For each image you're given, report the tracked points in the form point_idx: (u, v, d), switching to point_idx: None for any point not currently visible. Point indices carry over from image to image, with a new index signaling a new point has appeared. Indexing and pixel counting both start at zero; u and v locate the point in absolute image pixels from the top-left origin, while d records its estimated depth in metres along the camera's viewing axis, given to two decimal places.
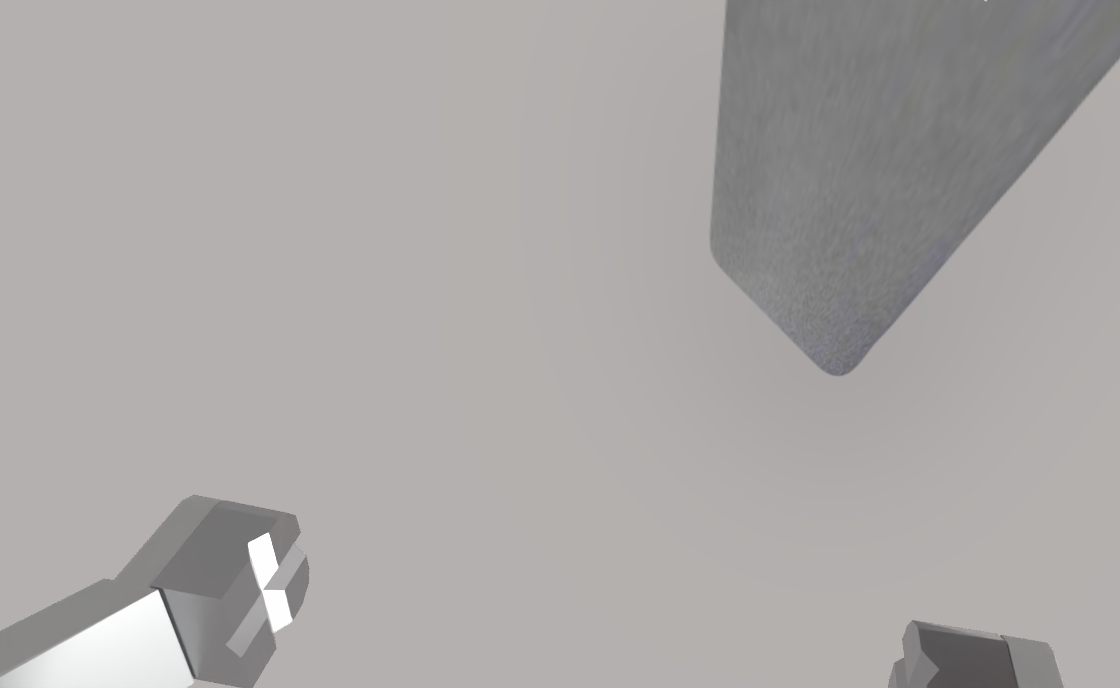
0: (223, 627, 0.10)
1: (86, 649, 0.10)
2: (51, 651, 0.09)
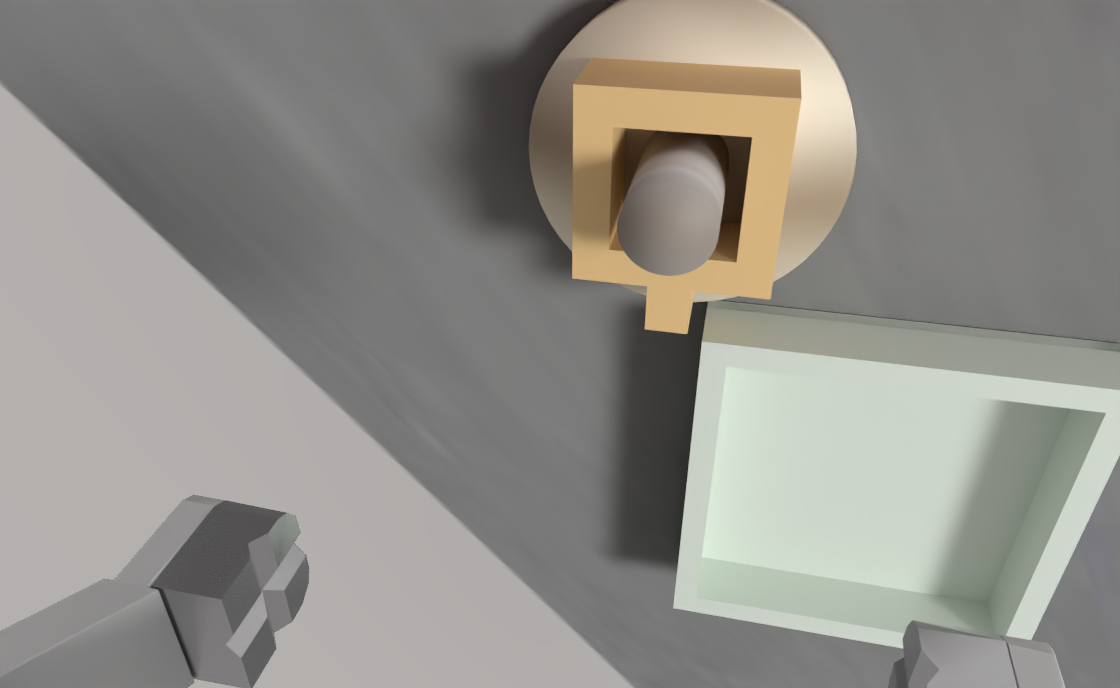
0: (223, 627, 0.10)
1: (86, 649, 0.10)
2: (51, 651, 0.09)
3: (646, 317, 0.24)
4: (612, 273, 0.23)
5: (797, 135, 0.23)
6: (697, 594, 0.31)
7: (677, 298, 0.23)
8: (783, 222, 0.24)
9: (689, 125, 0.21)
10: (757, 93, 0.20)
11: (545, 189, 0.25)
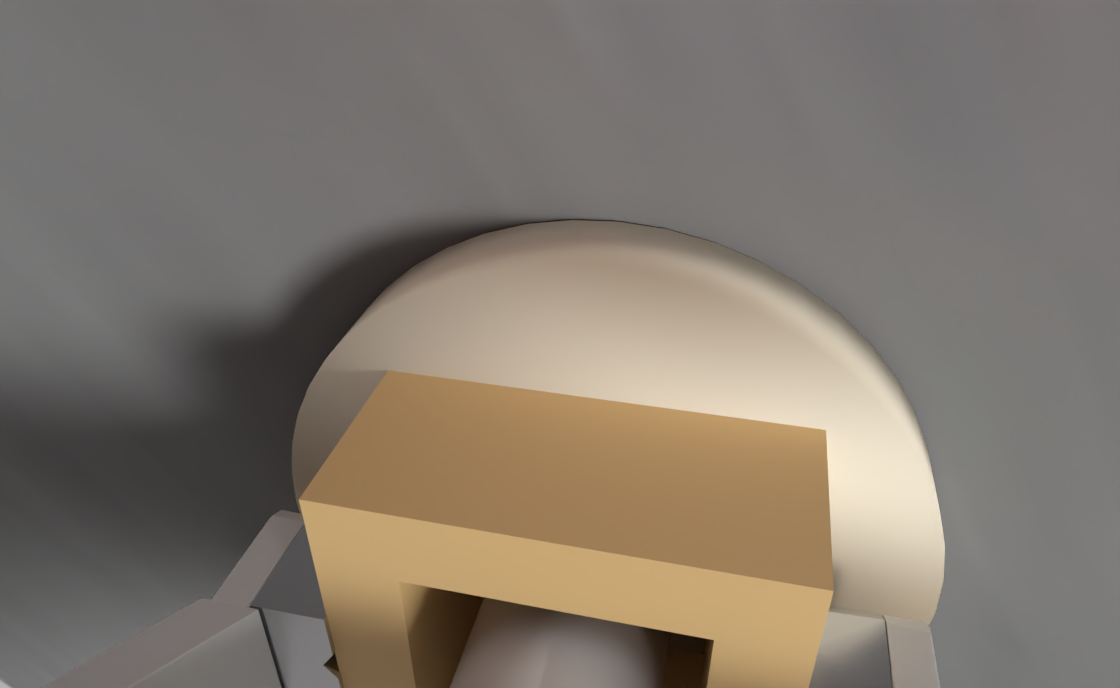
0: (323, 647, 0.10)
1: (189, 671, 0.09)
2: (157, 675, 0.09)
3: None
4: None
5: None
6: None
7: None
8: None
9: (568, 602, 0.09)
10: (724, 557, 0.08)
11: None
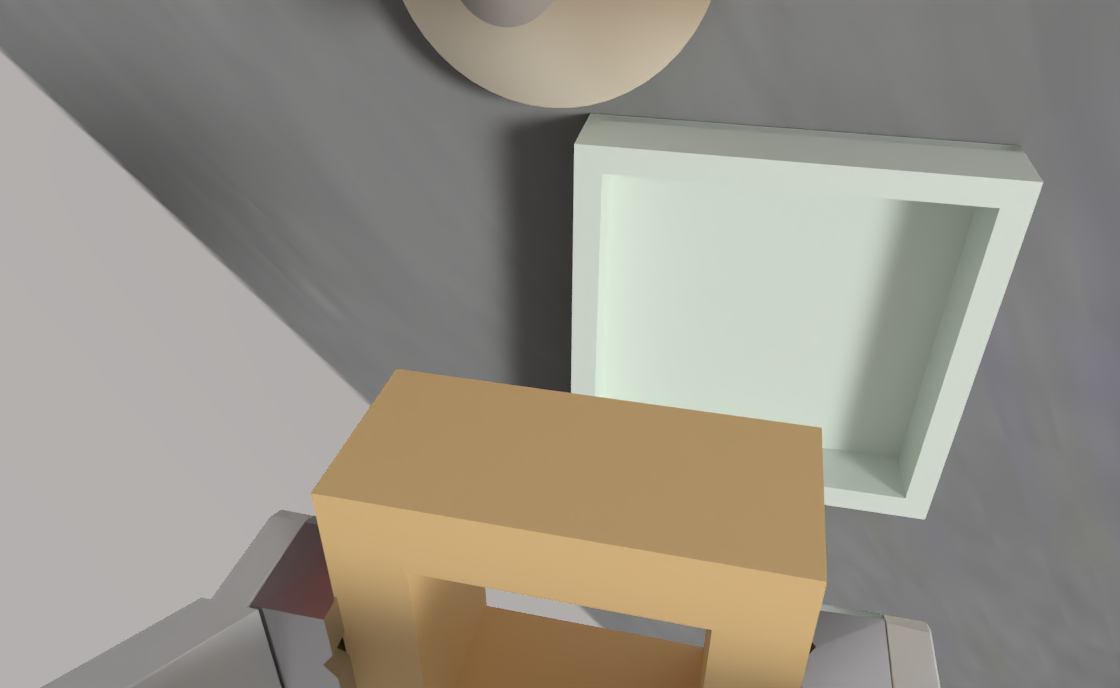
0: (322, 647, 0.10)
1: (189, 671, 0.09)
2: (157, 675, 0.09)
3: None
4: None
5: None
6: None
7: None
8: (656, 4, 0.22)
9: (572, 592, 0.09)
10: (722, 549, 0.08)
11: None
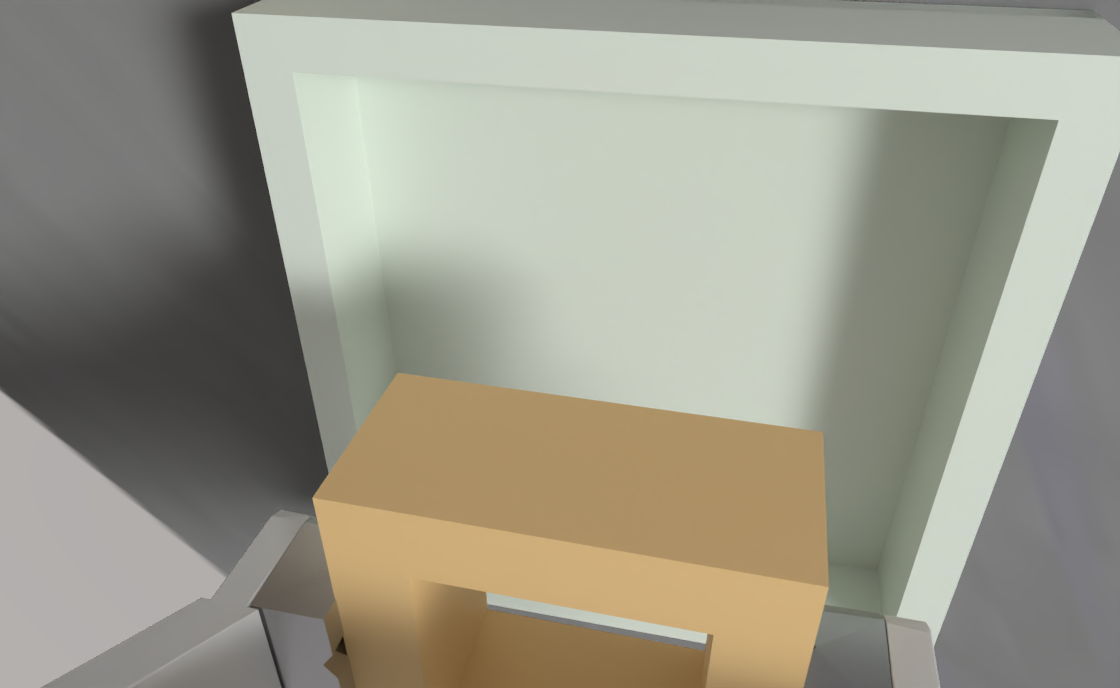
0: (322, 647, 0.10)
1: (189, 671, 0.09)
2: (157, 676, 0.09)
3: None
4: None
5: None
6: None
7: None
8: None
9: (573, 598, 0.09)
10: (723, 554, 0.08)
11: None
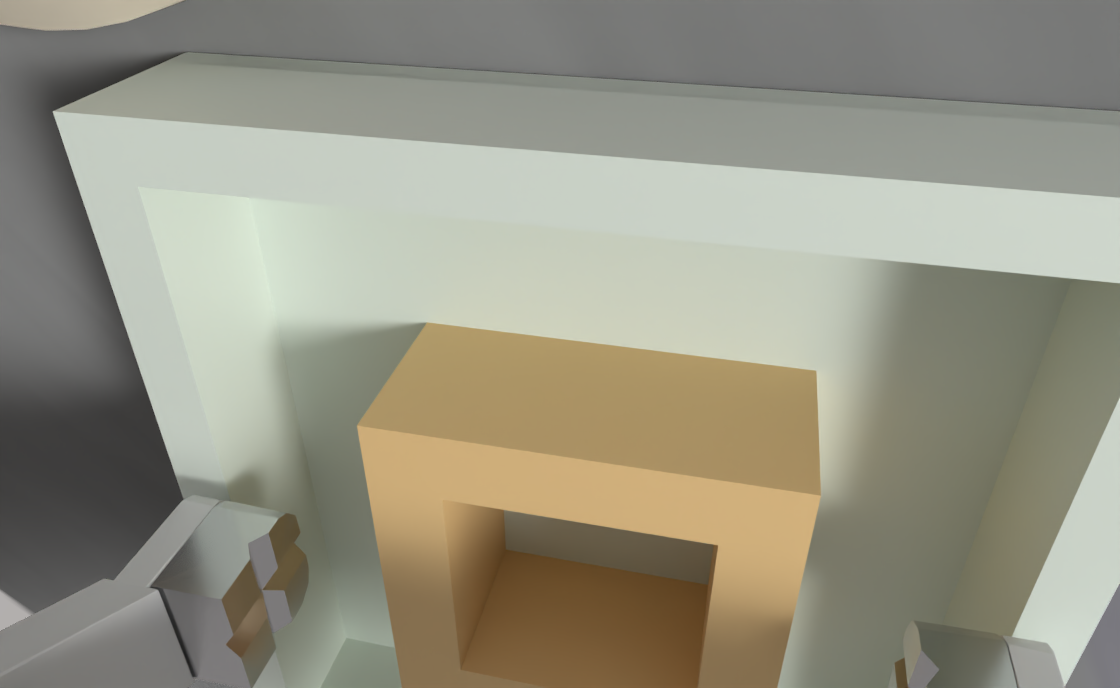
0: (223, 627, 0.10)
1: (86, 649, 0.10)
2: (51, 651, 0.09)
3: None
4: None
5: None
6: None
7: None
8: None
9: (591, 513, 0.10)
10: (727, 470, 0.10)
11: None
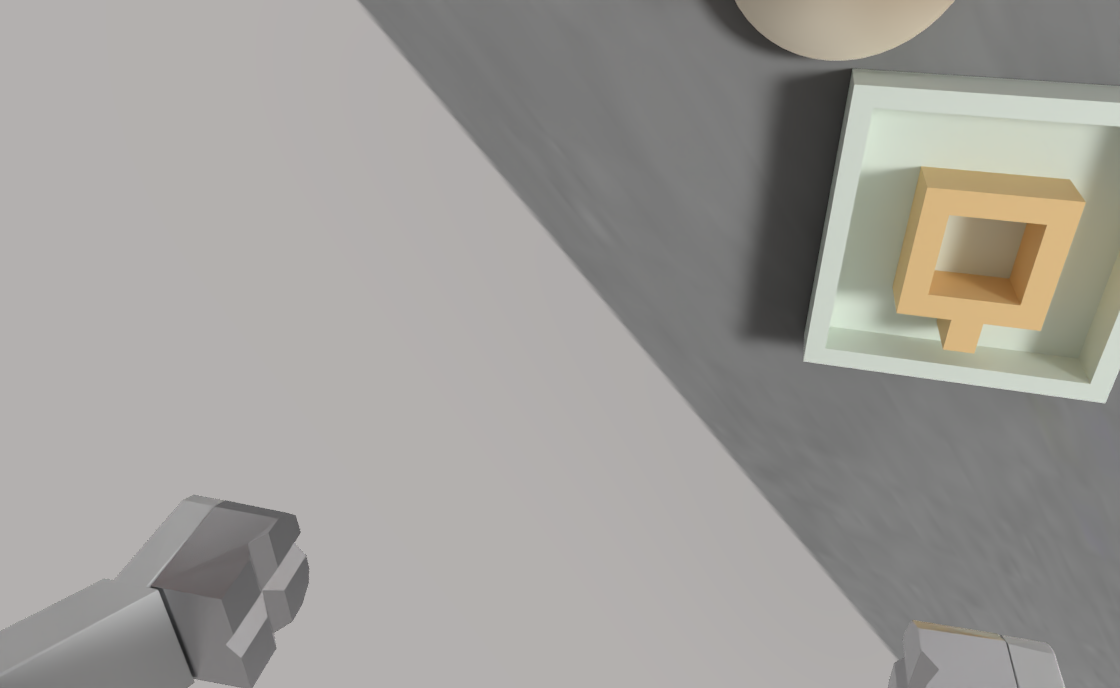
0: (223, 627, 0.10)
1: (86, 649, 0.10)
2: (51, 651, 0.09)
3: (945, 341, 0.35)
4: (927, 310, 0.34)
5: None
6: (825, 346, 0.37)
7: (972, 329, 0.34)
8: None
9: (1004, 216, 0.32)
10: (1054, 197, 0.31)
11: None
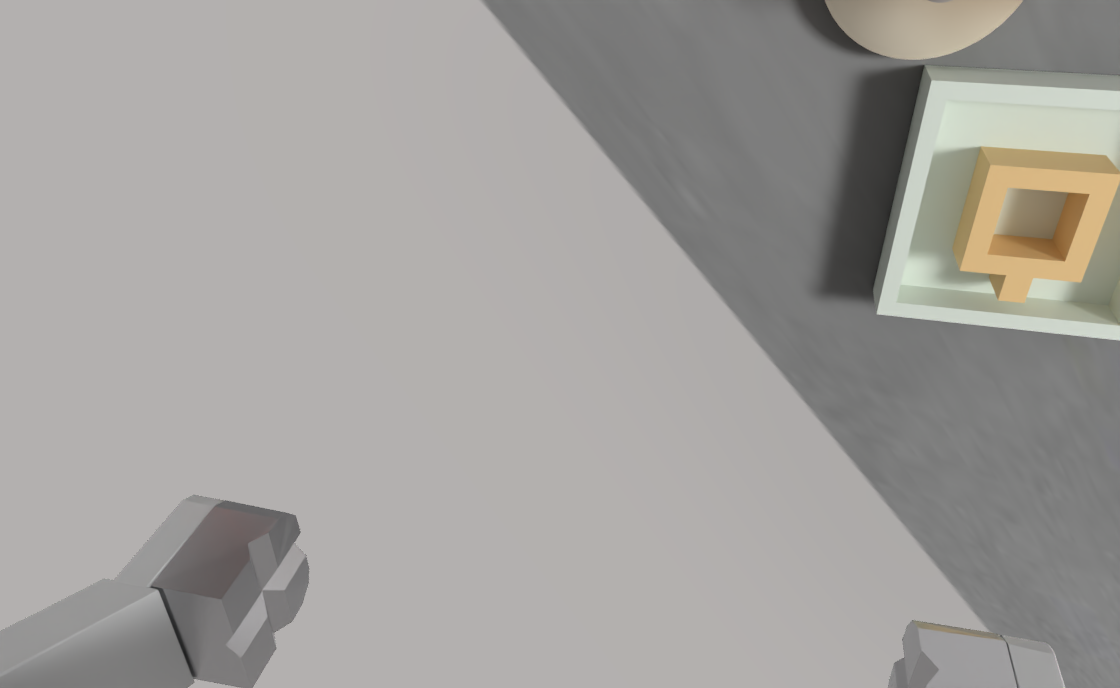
0: (223, 627, 0.10)
1: (86, 649, 0.10)
2: (51, 652, 0.09)
3: (1000, 293, 0.41)
4: (986, 267, 0.41)
5: None
6: (896, 300, 0.43)
7: (1023, 282, 0.41)
8: None
9: (1054, 187, 0.38)
10: (1095, 171, 0.37)
11: None
